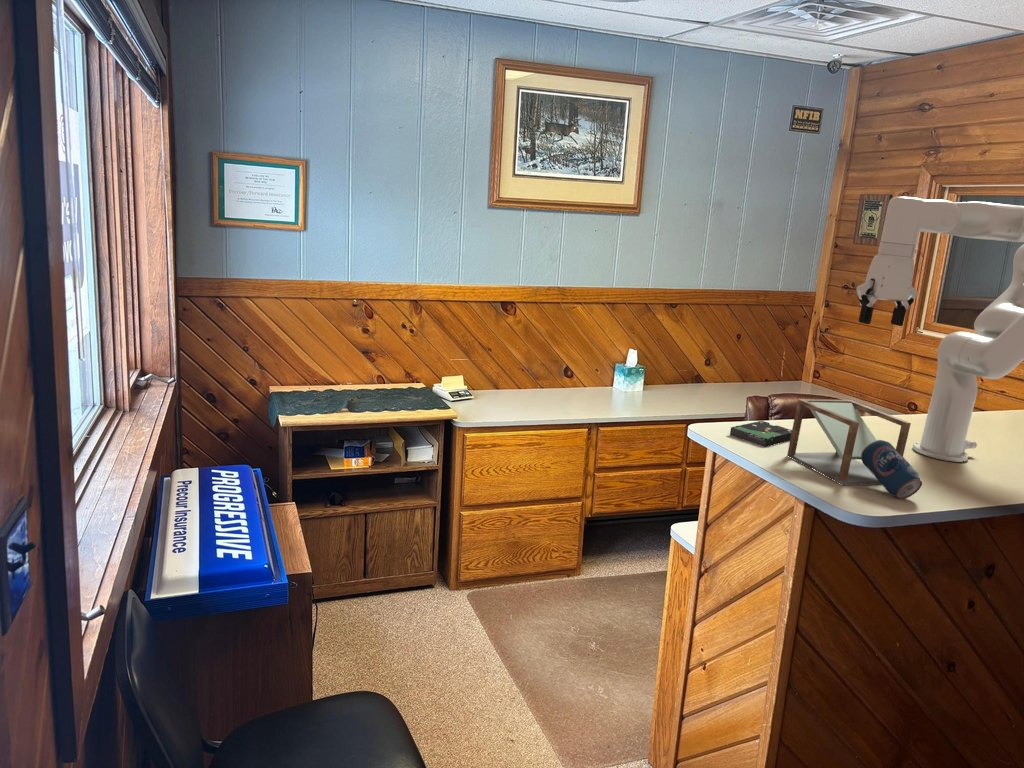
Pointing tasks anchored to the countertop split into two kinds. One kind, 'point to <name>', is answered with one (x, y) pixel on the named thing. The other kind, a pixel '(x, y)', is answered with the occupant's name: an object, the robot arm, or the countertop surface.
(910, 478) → the soda can
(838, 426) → the trapdoor
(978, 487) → the countertop surface
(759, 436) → the disk drive
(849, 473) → the frame
